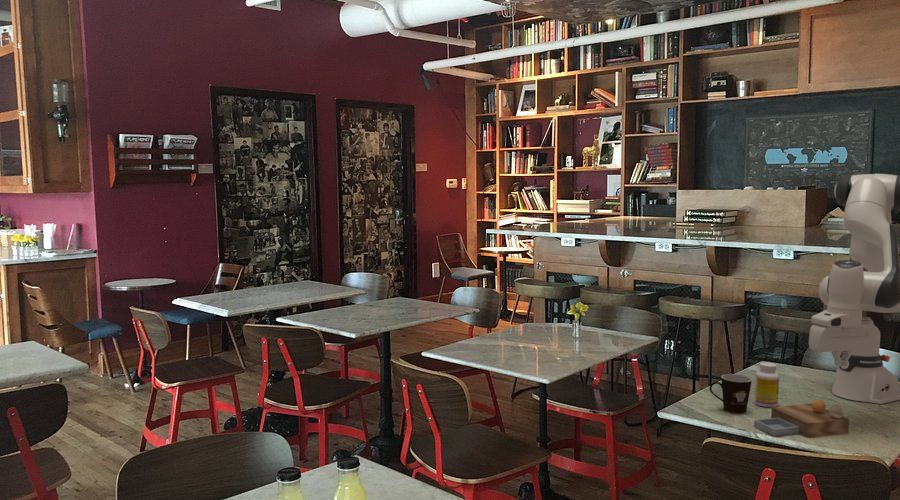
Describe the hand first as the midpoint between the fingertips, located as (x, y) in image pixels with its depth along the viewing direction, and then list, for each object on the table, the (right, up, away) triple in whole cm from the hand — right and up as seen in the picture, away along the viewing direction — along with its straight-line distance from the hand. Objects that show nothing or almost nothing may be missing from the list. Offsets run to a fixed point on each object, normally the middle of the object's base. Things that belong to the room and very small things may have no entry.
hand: (840, 365), depth 208 cm
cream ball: (-4, -12, -5) cm, 14 cm away
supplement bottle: (-13, -15, +19) cm, 28 cm away
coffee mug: (-26, -16, +14) cm, 34 cm away
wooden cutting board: (-9, -17, -1) cm, 20 cm away
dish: (-20, -18, -4) cm, 27 cm away
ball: (-7, -11, 0) cm, 13 cm away
